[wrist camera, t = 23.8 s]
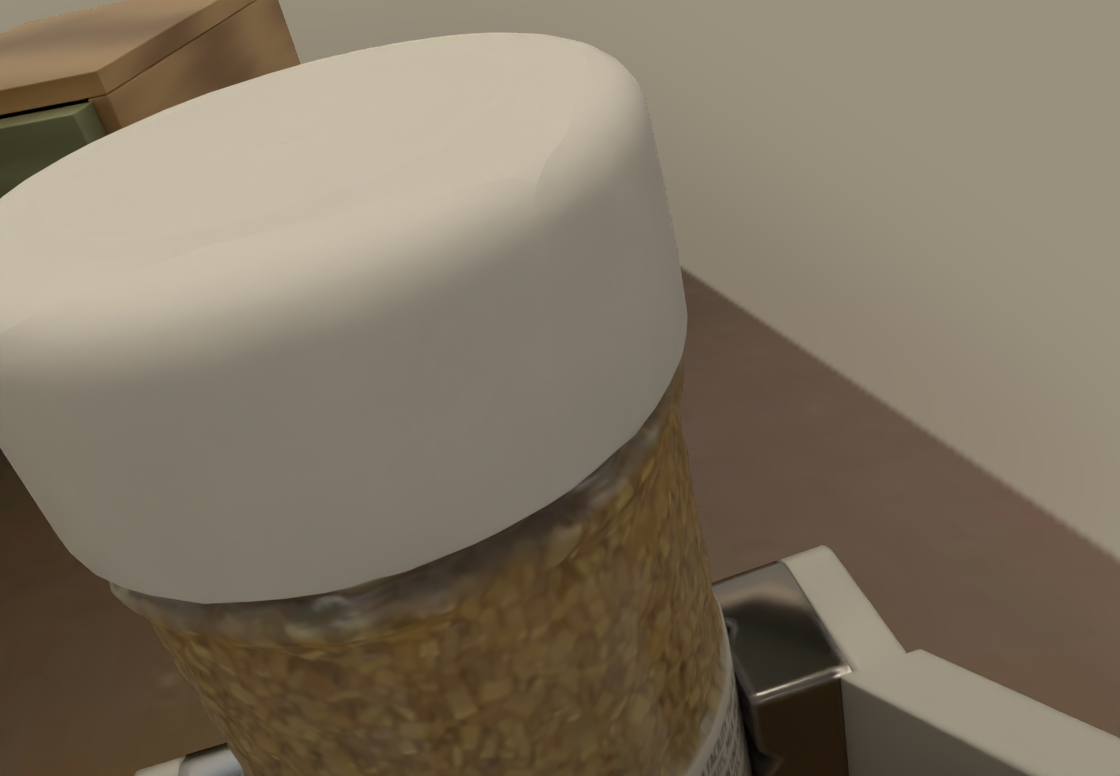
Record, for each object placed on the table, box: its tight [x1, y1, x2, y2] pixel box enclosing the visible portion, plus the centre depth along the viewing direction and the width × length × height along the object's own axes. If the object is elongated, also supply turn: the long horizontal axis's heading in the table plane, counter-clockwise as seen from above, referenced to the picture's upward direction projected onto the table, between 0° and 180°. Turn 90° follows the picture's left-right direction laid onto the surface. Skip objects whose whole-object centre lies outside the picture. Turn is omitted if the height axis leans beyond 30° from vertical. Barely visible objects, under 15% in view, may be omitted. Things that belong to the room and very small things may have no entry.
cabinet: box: [0, 0, 301, 135], centre depth 42 cm, size 15×13×10 cm
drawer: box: [0, 98, 108, 198], centre depth 38 cm, size 18×11×8 cm, turn 172°
